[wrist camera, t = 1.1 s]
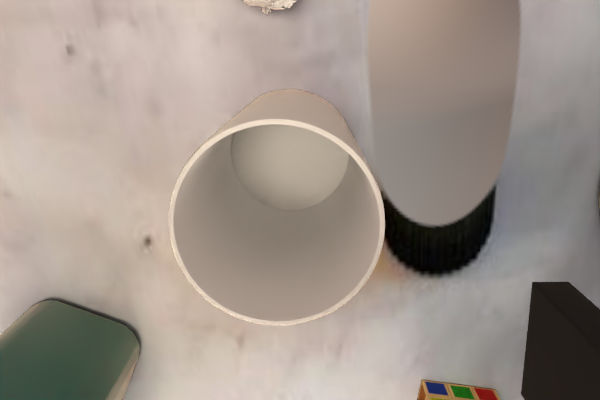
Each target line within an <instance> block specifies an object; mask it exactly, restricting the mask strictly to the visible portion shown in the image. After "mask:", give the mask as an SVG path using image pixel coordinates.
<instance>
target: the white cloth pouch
mask: <svg viewBox="0 0 600 400" xmlns="http://www.w3.org/2000/svg"><path fill="white" fill-rule="evenodd" d="M243 1H244V2H245V3H247V4H248V5H250V6H259V7H262V13H264V15H268V14H269V13H270V12H271V9H274V10H281V9H282V10H285V8H290V7H291V6H292V5H293V3H295V2H296V1H297V0H243ZM274 1H275V2H274Z"/></svg>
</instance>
